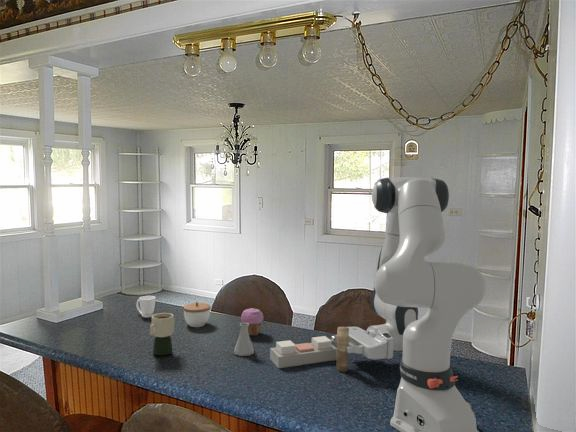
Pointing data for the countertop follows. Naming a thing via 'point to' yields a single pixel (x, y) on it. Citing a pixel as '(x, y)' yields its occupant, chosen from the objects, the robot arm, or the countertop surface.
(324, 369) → the countertop surface
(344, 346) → the tan wooden cylinder
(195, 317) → the lidded jar
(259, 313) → the cupcake
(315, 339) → the ivory key
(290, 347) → the ivory key
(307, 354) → the keypad bezel
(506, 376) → the countertop surface
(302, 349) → the terracotta key
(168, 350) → the character mug
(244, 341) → the flask
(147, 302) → the cup
